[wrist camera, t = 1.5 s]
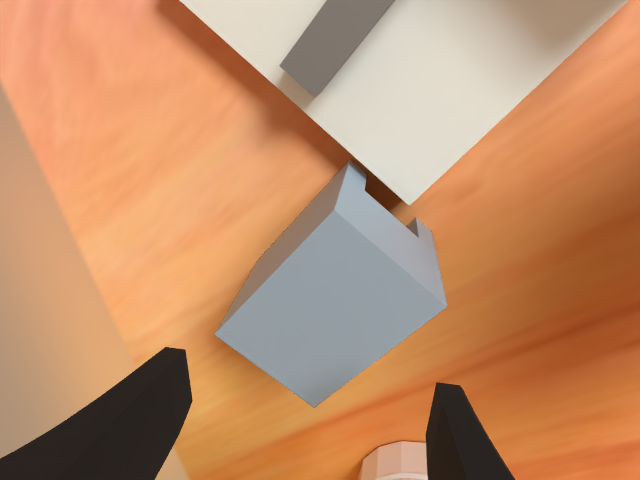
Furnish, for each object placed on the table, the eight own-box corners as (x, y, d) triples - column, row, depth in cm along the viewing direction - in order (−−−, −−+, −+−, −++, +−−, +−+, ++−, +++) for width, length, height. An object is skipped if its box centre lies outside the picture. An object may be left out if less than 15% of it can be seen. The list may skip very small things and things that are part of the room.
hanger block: (431, 231, 19) (447, 306, 14) (332, 318, 22) (314, 407, 17) (350, 159, 18) (334, 209, 13) (258, 259, 21) (214, 334, 16)
